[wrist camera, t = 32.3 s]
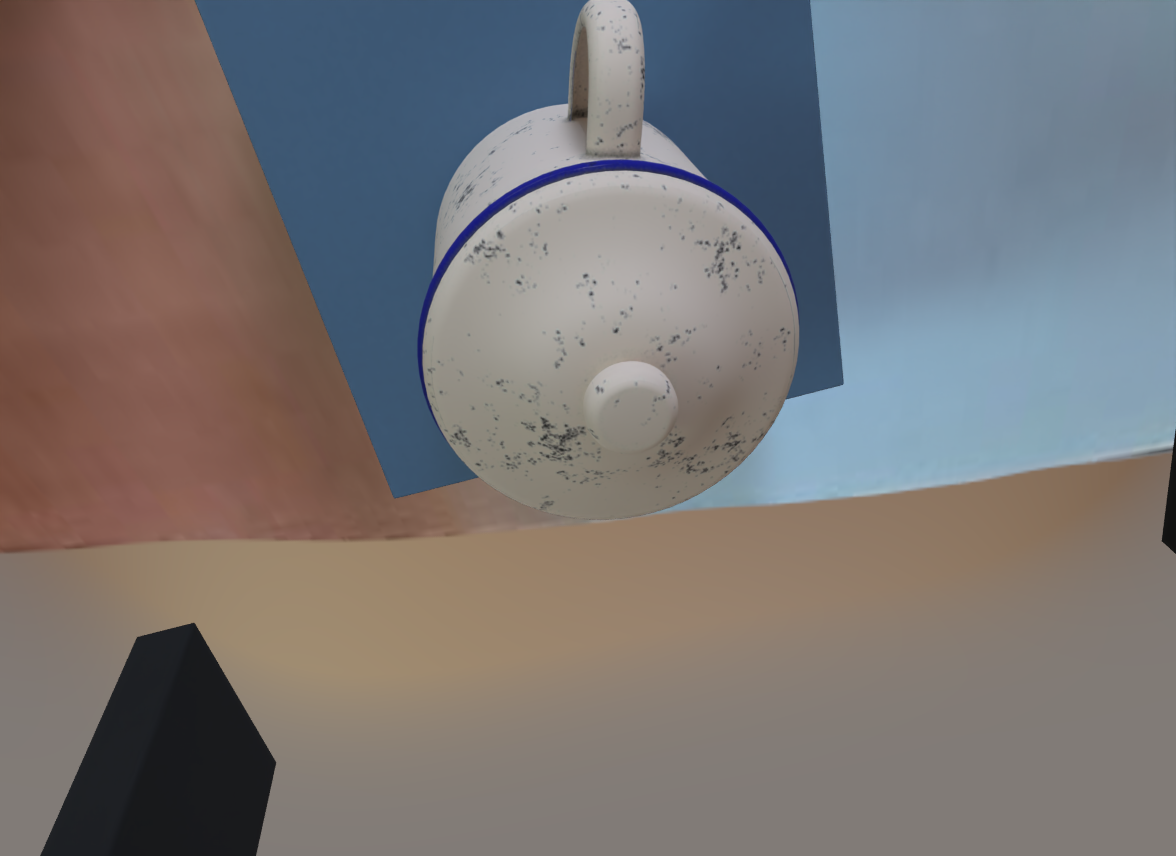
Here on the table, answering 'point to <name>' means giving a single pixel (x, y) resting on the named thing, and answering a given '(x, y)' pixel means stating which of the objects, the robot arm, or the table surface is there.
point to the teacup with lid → (602, 303)
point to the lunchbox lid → (464, 118)
